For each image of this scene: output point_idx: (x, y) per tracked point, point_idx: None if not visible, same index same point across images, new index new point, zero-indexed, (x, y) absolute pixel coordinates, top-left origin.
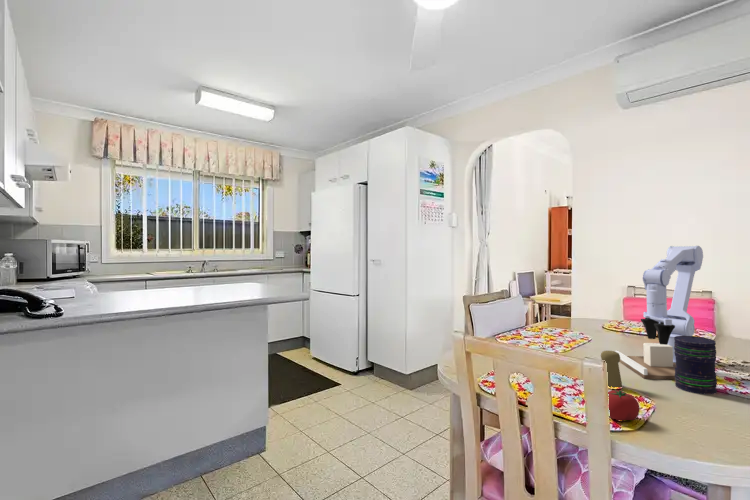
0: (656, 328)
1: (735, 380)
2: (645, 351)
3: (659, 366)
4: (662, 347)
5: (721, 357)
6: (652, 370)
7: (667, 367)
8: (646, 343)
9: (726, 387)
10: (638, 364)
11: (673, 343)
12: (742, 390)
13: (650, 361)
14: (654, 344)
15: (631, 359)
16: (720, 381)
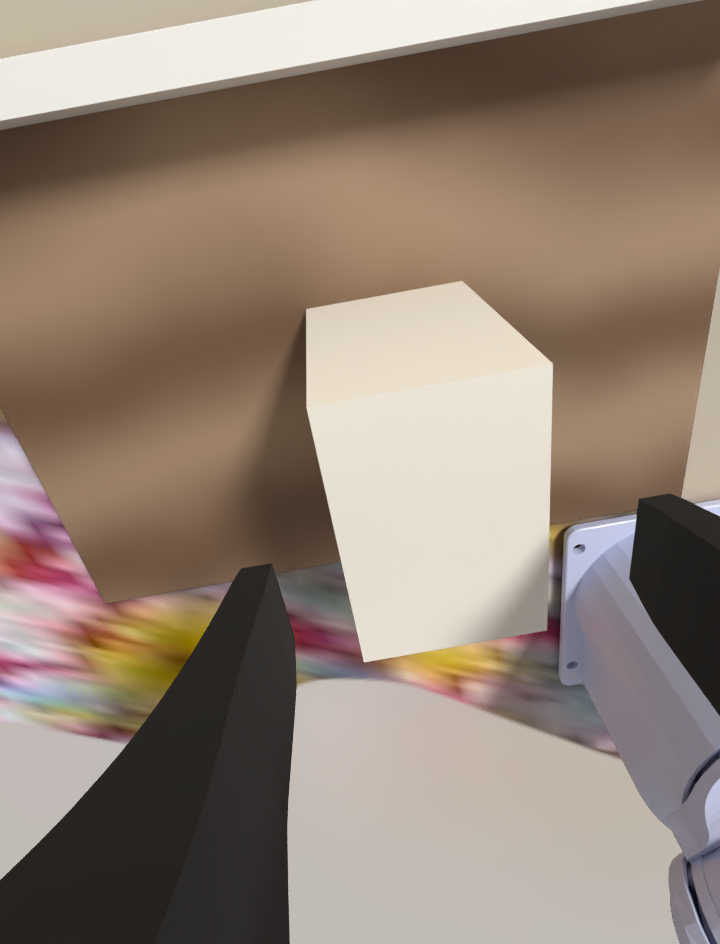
0: (143, 851)
1: None
2: (447, 332)
3: None
4: (341, 556)
5: None
6: (128, 280)
7: (308, 456)
8: (515, 403)
9: (22, 670)
10: (11, 88)
11: (684, 689)
12: (5, 718)
13: (308, 325)
14: (457, 500)
15: (289, 58)
16: (155, 675)
